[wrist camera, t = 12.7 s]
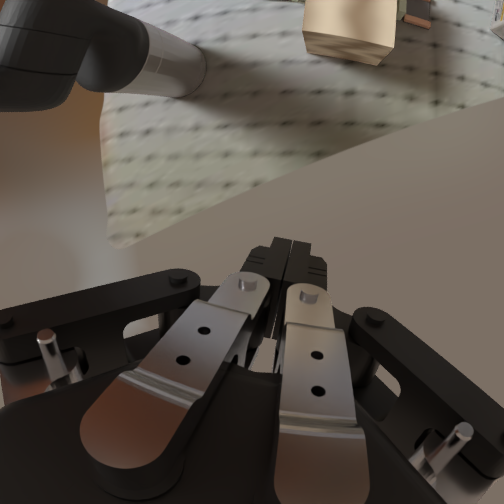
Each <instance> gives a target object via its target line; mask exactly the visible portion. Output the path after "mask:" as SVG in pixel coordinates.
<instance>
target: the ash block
mask: <svg viewBox="0 0 504 504" xmlns="http://www.w3.org/2000/svg"><path fill="white" fill-rule="evenodd" d="M396 12H397V0H306V2H305V10H304V19H303V27H302V32H303V36H304V41H305V45H306V49H307V53H312V54H319V55H325V56H331V57H337V58H342V59H347V60H352V61H357V62H362V63H366V64H371V65H375V66H377V65H378V64H379V63H380V62H381V61H382V60H383V59H384V58H385V57H386V56H387V55H388V54H389V53H390V52H391V51H392V50H393V49H394V41H395V28H396Z"/></svg>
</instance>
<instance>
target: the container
mask: <svg viewBox="0 0 504 504" xmlns="http://www.w3.org/2000/svg"><path fill="white" fill-rule="evenodd" d="M490 30H491V31H492V32H494V33H495V34H497V35H498V36H499V37H501V38H502V39H503V40H504V0H495V6H494V11H493V17H492V21H491V26H490Z"/></svg>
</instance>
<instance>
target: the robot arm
mask: <svg viewBox="0 0 504 504" xmlns="http://www.w3.org/2000/svg"><path fill="white" fill-rule="evenodd" d="M205 72H206V61H205V57H204V55H203V53H202V52H201V51H200V50H199V49H198V48H197V47H196V46H194V45H192V44H190V43H188V42H186V41H184V40H182V39H180V38H178V37H176V36H174V35H172V34H170V33H168V32H166V31H164V30H162V29H160V28H157V27H155V26H153V25H151V24H149V23H146V22H144V21H141V20H139V19H137V18H134V17H132V16H129V15H127V14H124V13H122V12H119V11H117V10H114V9H112V8H110V7H108V6H105V5H103V4H101V3H99V2H97V1H95V0H6V1H5V4H4V6H3V8H2V10H1V12H0V112H30V111H42V110H47V109H52V108H54V107H57V106H59V105H61V104H62V103H63V102H64V101H65V100H66V99H67V97H68V95H69V94H70V92H71V89H72V87H73V85H74V82H75V80H76V81H77V82H78V84H79V85H80V86H82V87H83V88H85V89H87V90H89V91H93V92H105V93H130V94H144V95H155V96H164V97H183V96H186V95H188V94H190V93H191V92H193V91H194V90H195V89H196V88H197V87H199V85H200V84H201V82H202V81H203V78H204V76H205ZM291 244H292V240H289V239H284V238H279V237H274V239H273V241H272V244H271V246H270V248H269V247H263V246H258V247H256V248H254V249H252V250H251V252H250V254H249V256H248V257H247V259H246V261H245V263H244V264H243V266H242V268H241V270H240V272H236V273H233V274H230V275H229V276H228V277H227V278H226V279H225V280H224V282H223V283H222V284H221V286H200V281H201V280H200V277H199V276H198V275H197V274H196V273H195V272H192V271H190V270H186V269H169V270H165V271H160V272H156V273H152V274H148V275H144V276H139V277H135V278H131V279H127V280H123V281H119V282H114V283H110V284H106V285H102V286H97V287H93V288H90V289H85V290H81V291H77V292H73V293H68V294H65V295H60V296H56V297H52V298H47V299H43V300H39V301H35V302H31V303H27V304H23V305H19V306H15V307H10V308H6V309H2V310H0V378H1V386H2V393H3V399H4V405H5V406H4V407H2V408H1V409H0V504H477V502H478V501H479V500H480V499H481V497H482V496H483V495H484V494H485V492H486V491H487V490H488V489H489V488H490V487H491V486H492V485H493V484H495V483H496V482H497V481H498V480H499V479H500V478H501V477H503V476H504V408H502V407H501V406H500V405H499V404H498V403H497V402H495V401H494V400H493V399H492V398H491V397H490V396H488V395H487V394H486V393H485V392H484V391H483V390H481V389H480V388H479V387H478V386H477V385H475V384H474V383H473V382H472V381H471V380H469V379H468V378H467V377H466V376H465V375H463V374H462V373H461V372H460V371H459V370H457V369H456V368H455V367H454V366H453V365H451V364H450V363H449V362H448V361H447V360H445V359H444V358H443V357H442V356H440V355H439V354H438V353H437V352H435V351H434V350H433V349H432V348H431V347H429V346H428V345H427V344H426V343H424V342H423V341H422V340H421V339H419V338H418V337H417V336H416V335H414V334H413V333H412V332H411V331H409V330H408V329H407V328H406V327H404V326H403V325H402V324H401V323H399V322H398V321H397V320H396V319H394V318H393V317H392V316H390V315H389V314H388V313H386V312H384V311H382V310H380V309H377V308H372V307H361V308H358V309H357V310H355V311H354V313H353V316H351V315H349V314H346V313H344V312H341V311H339V310H338V309H336V308H335V307H333V306H332V303H331V297H330V295H329V293H327V264H326V262H325V261H324V260H323V259H322V258H321V257H316V256H311V255H310V250H311V243H305V242H300V241H295V240H294V241H293V245H292V249H291ZM290 250H291V253H290ZM289 256H290V257H289ZM156 314H158V321H159V328H158V329H154V330H151V331H148V332H145V333H141V334H138V335H135V336H132V337H129V338H125V339H124V338H123V330H124V328H125V327H126V325H127V324H129V323H130V322H133V321H136V320H139V319H142V318H146V317H149V316H153V315H156ZM276 314H277V316H276ZM275 318H276V321H275ZM274 322H275V327H274V331H273V337H272V339H275V340H277V343H276V348H275V352H274V357H273V364H272V372H271V373H260V372H253V371H251V368H252V366H253V364H254V362H255V359H256V357H257V354H258V352H259V346H260V344H261V343H262V340H263V337H266V338H270V337H271V333H272V329H273V326H274ZM380 364H381V365H382V366H383V367H384V368H385V369H386V370H387V371H388V372H389V373H390V374H391V375H392V376H393V377H395V378H396V379H397V381H398V382H399V384H400V388H401V393H400V396H399V397H397V396H396V395H395V394H394V393H393V392H392V391H391V390H390V389H389V388H388V387H387V386H386V385H385V384H384V383H383V382H382V381H381V380H380V379H379V378H378V377H377V376H376V375H375V373H376V371H377V369H378V367H379V365H380Z"/></svg>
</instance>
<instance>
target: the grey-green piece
mask: <svg viewBox="0 0 504 504" xmlns="http://www.w3.org/2000/svg"><path fill="white" fill-rule="evenodd" d="M285 1H288V0H285ZM291 1H296V2H298V1H299V0H291ZM430 1H431V0H397V12H396V20H399V21H400V20H401V19H402V17H403V22H406V23H409V24H413V25H416V26H419V27H422V28H425V29H429V28H430V27H431V22H430V21H429V2H430Z"/></svg>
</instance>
